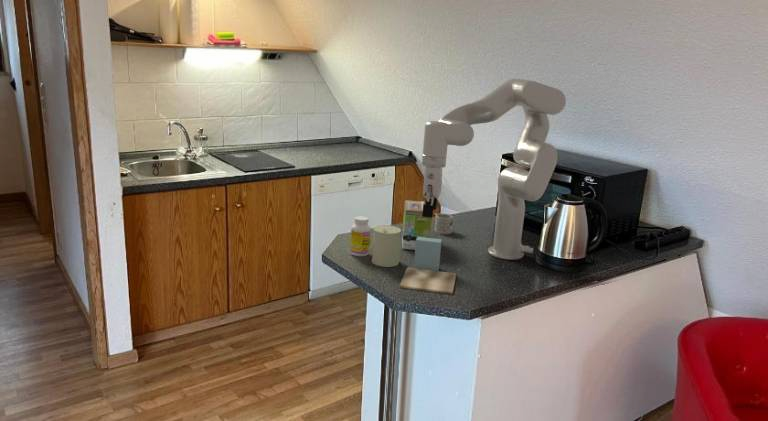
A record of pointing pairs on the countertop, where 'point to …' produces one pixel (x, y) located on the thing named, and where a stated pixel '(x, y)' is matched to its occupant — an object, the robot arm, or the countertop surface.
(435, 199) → the robot arm
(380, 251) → the can
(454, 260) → the countertop surface
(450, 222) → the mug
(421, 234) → the tea box
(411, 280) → the mat
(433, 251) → the slab
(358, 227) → the supplement bottle
